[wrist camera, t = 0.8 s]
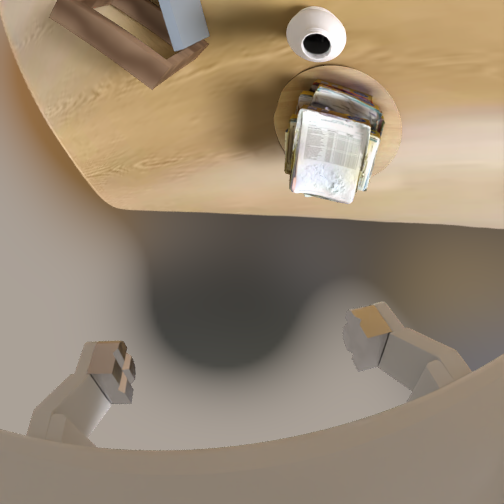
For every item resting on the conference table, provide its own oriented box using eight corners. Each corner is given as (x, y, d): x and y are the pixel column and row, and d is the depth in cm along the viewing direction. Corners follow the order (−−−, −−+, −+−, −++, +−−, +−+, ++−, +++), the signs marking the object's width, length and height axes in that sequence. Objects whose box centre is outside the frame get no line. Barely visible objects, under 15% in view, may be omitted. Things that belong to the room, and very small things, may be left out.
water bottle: (337, 43, 40) (354, 81, 24) (296, 42, 41) (282, 79, 26) (335, 6, 34) (353, 14, 19) (292, 5, 36) (275, 13, 20)
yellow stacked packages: (258, 149, 61) (241, 199, 50) (298, 44, 42) (292, 64, 31) (361, 190, 63) (368, 245, 53) (419, 102, 44) (449, 144, 34)
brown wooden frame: (121, -17, 33) (59, -6, 22) (209, 44, 44) (168, 68, 33) (110, 0, 36) (49, 17, 25) (194, 59, 47) (151, 89, 36)
